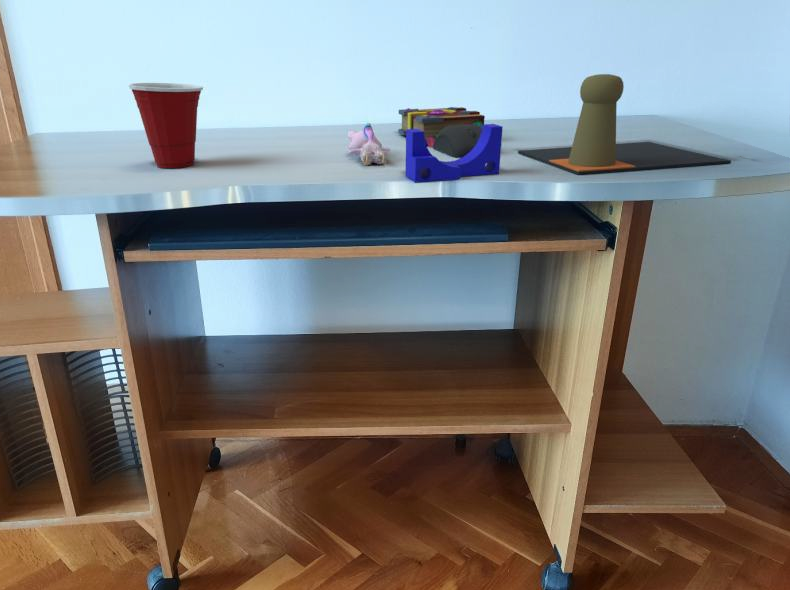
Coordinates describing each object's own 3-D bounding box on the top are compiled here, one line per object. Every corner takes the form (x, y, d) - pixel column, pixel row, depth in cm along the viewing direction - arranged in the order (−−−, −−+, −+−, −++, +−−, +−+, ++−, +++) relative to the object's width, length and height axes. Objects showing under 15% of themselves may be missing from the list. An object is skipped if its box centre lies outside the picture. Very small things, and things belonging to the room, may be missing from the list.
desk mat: (647, 144, 102) (648, 140, 101) (730, 163, 86) (731, 158, 85) (517, 153, 99) (518, 149, 98) (578, 175, 83) (578, 170, 82)
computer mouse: (456, 158, 96) (457, 130, 95) (430, 147, 106) (431, 122, 105) (495, 155, 97) (497, 127, 96) (466, 144, 107) (467, 119, 106)
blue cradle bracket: (415, 182, 82) (416, 133, 79) (405, 175, 86) (406, 129, 83) (503, 175, 84) (507, 127, 81) (490, 169, 88) (493, 123, 85)
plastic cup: (208, 169, 95) (198, 83, 90) (135, 173, 95) (120, 86, 90) (215, 157, 105) (206, 78, 100) (148, 160, 105) (136, 81, 99)
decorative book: (455, 131, 122) (456, 103, 120) (487, 143, 108) (489, 112, 106) (397, 134, 121) (398, 106, 119) (422, 147, 107) (423, 115, 104)
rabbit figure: (396, 174, 93) (376, 142, 106) (398, 133, 90) (377, 105, 102) (354, 177, 93) (338, 145, 105) (354, 136, 89) (338, 107, 101)
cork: (559, 163, 87) (569, 75, 82) (581, 157, 90) (592, 72, 85) (602, 168, 83) (615, 76, 78) (623, 161, 86) (637, 73, 81)
